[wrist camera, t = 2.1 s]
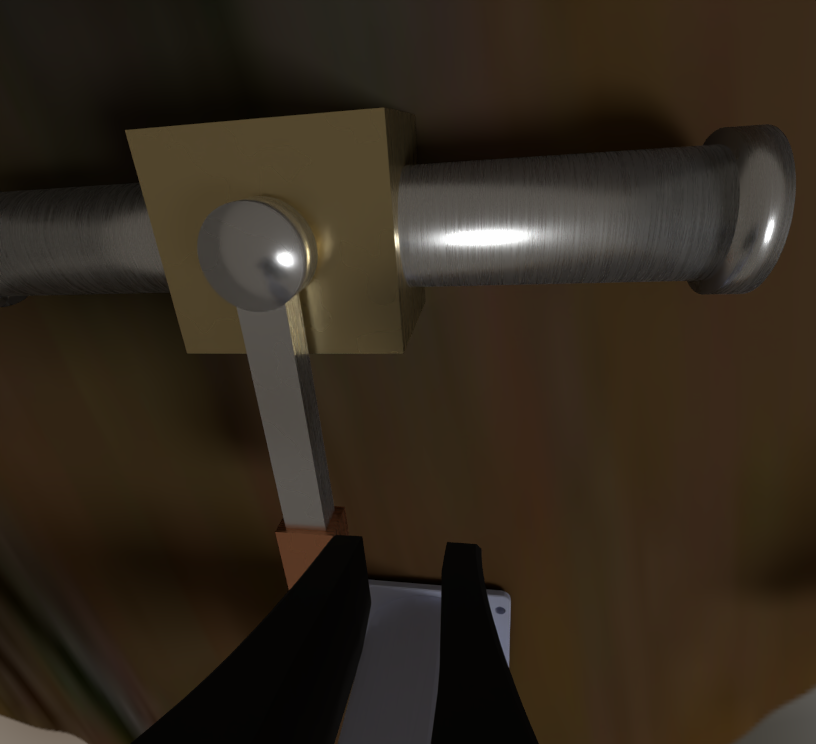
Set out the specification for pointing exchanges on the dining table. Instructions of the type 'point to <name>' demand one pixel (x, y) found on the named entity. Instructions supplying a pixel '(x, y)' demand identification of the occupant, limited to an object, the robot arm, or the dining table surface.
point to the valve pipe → (402, 221)
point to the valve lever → (277, 358)
